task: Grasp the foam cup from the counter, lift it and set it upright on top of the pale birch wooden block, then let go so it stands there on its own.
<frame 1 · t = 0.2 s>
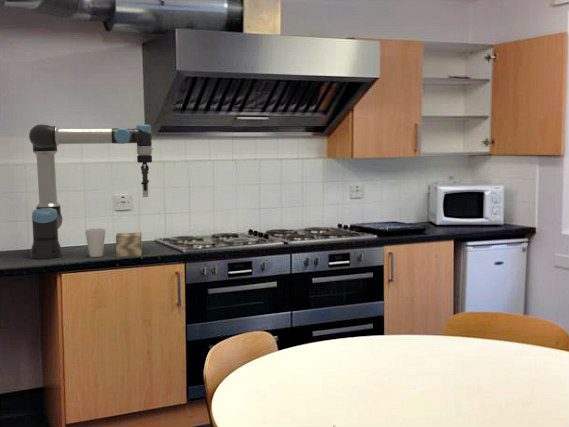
hand: (145, 196, 377), 28 cm above the table, fingers open, 13 cm apart
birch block: (129, 254, 364), on the table
foam cup: (96, 256, 360), on the table
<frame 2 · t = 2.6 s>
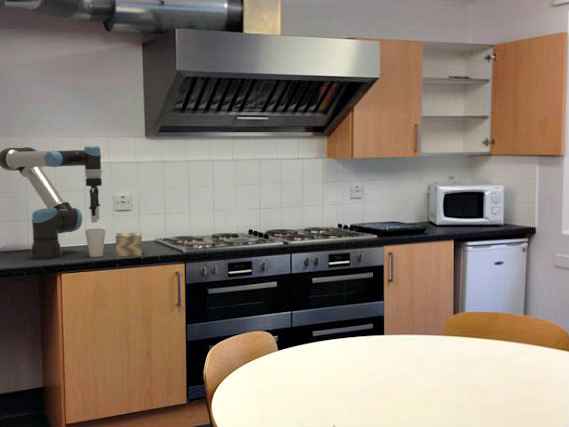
hand: (95, 221, 358), 17 cm above the table, fingers open, 13 cm apart
nothing on the table moved.
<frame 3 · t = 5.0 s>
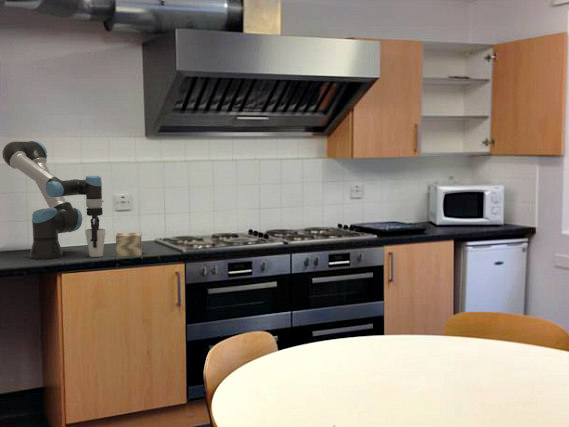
hand: (96, 252, 360), 2 cm above the table, fingers closed on foam cup, 9 cm apart
foam cup: (96, 256, 360), on the table, touching gripper
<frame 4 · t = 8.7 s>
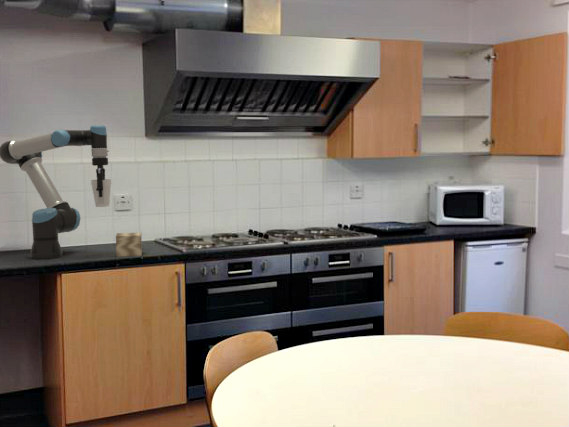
hand: (102, 203, 358), 26 cm above the table, fingers closed on foam cup, 9 cm apart
foam cup: (102, 206, 358), point 24 cm above the table, touching gripper
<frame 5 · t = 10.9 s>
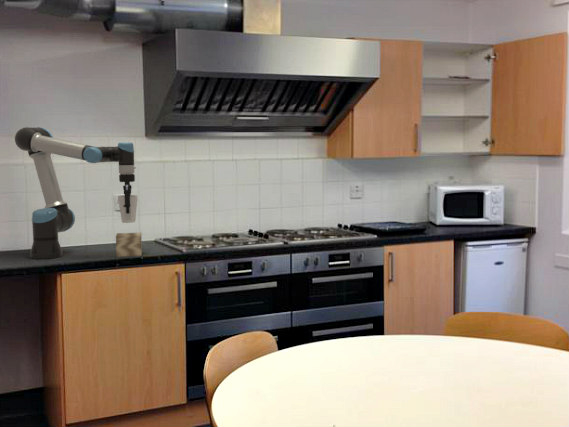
hand: (128, 219, 362), 18 cm above the table, fingers closed on foam cup, 9 cm apart
foam cup: (128, 222, 362), point 16 cm above the table, touching gripper
when the fingers open (13 cm above the table, at t = 12.7 s): foam cup drops 1 cm, resting on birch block.
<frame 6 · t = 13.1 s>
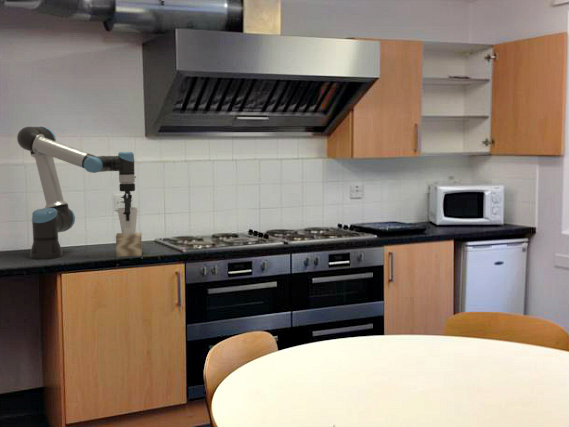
hand: (128, 225, 362), 14 cm above the table, fingers open, 13 cm apart
foam cup: (128, 234, 363), point 10 cm above the table, touching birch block
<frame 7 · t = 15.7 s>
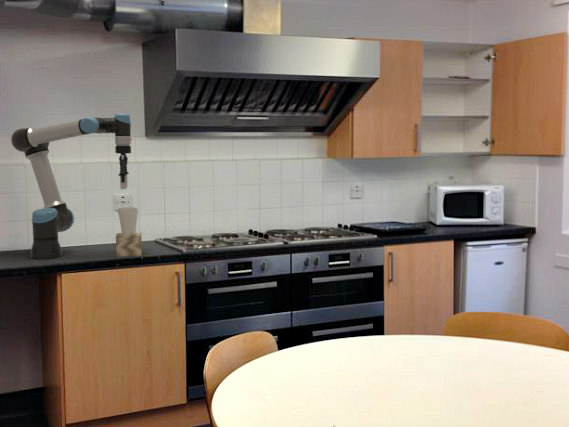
hand: (124, 188, 362), 33 cm above the table, fingers open, 13 cm apart
nothing on the table moved.
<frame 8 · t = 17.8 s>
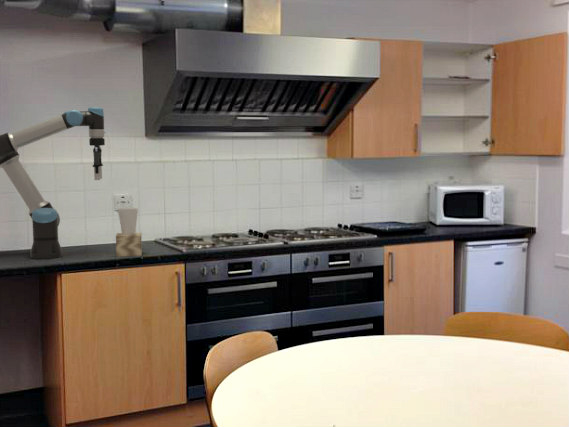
hand: (98, 179, 374), 37 cm above the table, fingers open, 13 cm apart
nothing on the table moved.
at the end: foam cup inside the target area on the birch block (0.0 cm from its centre), point 9.8 cm above the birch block's base; foam cup tilted 0°; the gripper is holding nothing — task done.
